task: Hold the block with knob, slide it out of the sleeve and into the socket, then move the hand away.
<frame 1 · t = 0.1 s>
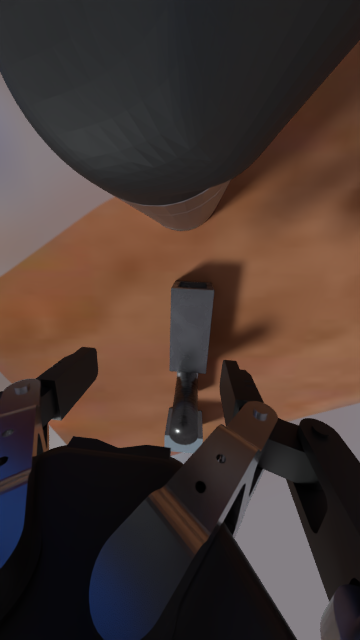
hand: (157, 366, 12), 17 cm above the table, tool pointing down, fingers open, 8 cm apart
sleeve: (190, 320, 29), on the table
socket: (184, 418, 37), on the table
block with knob: (187, 372, 24), point 7 cm above the table, slide at 0.0 cm
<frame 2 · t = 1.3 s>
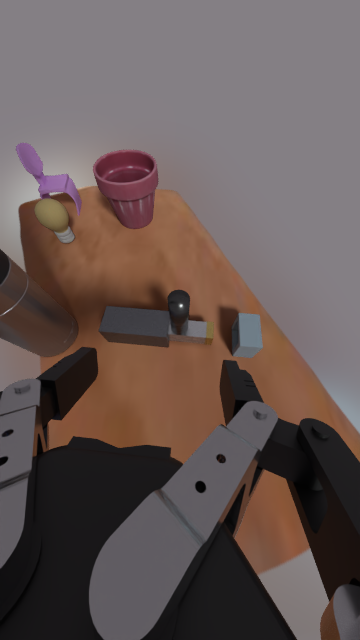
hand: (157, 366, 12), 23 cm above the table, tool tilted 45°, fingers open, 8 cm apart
sleeve: (140, 332, 38), on the table
light bulb: (68, 240, 51), on the table
socket: (243, 341, 37), on the table
plant pot: (137, 218, 54), on the table
block with knob: (159, 317, 32), point 7 cm above the table, slide at 0.0 cm
toy chair: (67, 210, 56), on the table
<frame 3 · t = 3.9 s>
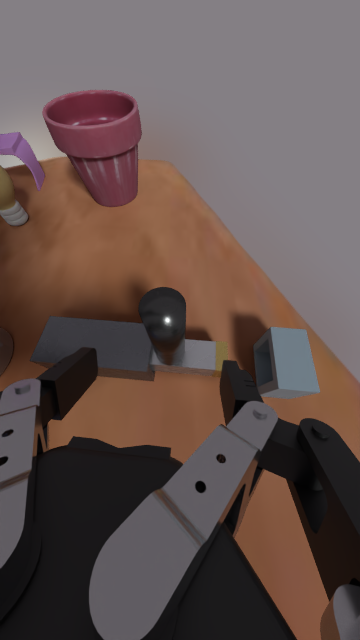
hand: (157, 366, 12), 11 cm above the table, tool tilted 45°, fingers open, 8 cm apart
sleeve: (110, 356, 24), on the table
light bulb: (20, 222, 37), on the table
socket: (274, 370, 23), on the table
plant pot: (116, 194, 40), on the table
block with knob: (132, 338, 18), point 7 cm above the table, slide at 0.0 cm
toy chair: (24, 185, 43), on the table
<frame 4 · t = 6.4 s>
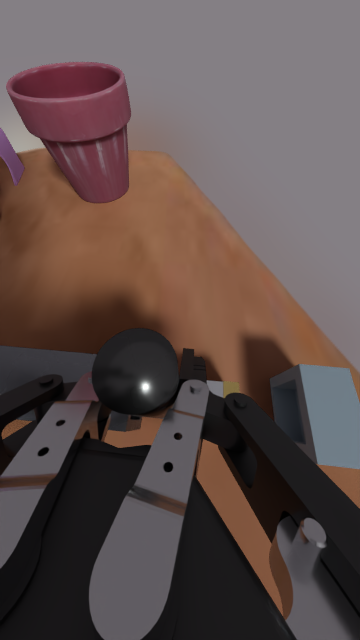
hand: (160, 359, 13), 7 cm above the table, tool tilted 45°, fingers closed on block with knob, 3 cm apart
sleeve: (86, 392, 19), on the table
socket: (298, 414, 18), on the table
plant pot: (104, 189, 35), on the table
block with knob: (104, 385, 12), point 7 cm above the table, slide at 0.0 cm, touching gripper
toy chair: (0, 179, 37), on the table
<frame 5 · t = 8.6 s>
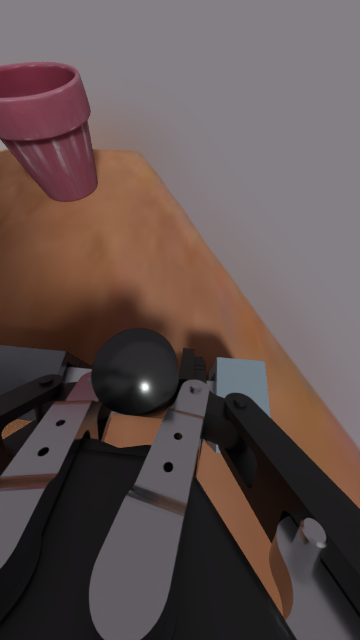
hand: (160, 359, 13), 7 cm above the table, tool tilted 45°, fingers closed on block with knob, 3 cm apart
sleeve: (27, 386, 19), on the table
socket: (232, 408, 18), on the table
plant pot: (73, 188, 35), on the table
block with knob: (104, 385, 12), point 7 cm above the table, slide at 6.0 cm, touching gripper
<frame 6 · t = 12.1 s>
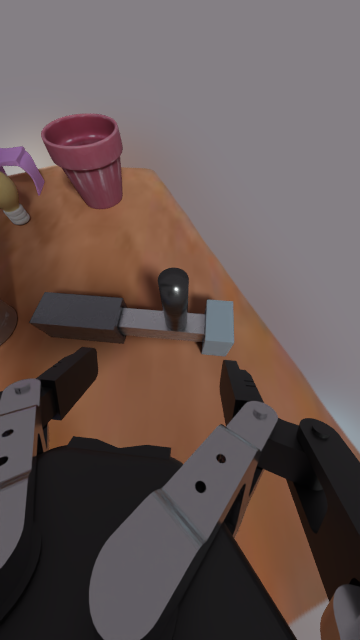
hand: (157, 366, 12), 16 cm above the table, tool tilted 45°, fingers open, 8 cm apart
sleeve: (92, 325, 31), on the table
light bulb: (23, 222, 44), on the table
socket: (217, 336, 30), on the table
plant pot: (104, 198, 48), on the table
block with knob: (149, 308, 24), point 7 cm above the table, slide at 6.0 cm
toy chair: (27, 190, 50), on the table
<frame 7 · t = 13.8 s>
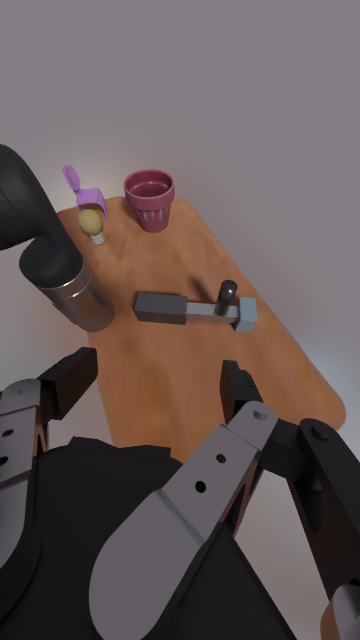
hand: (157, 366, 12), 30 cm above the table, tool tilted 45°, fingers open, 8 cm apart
sleeve: (163, 314, 49), on the table
light bulb: (99, 242, 62), on the table
socket: (243, 320, 48), on the table
plant pot: (154, 224, 65), on the table
block with knob: (208, 302, 42), point 7 cm above the table, slide at 6.0 cm
toy chair: (96, 217, 67), on the table
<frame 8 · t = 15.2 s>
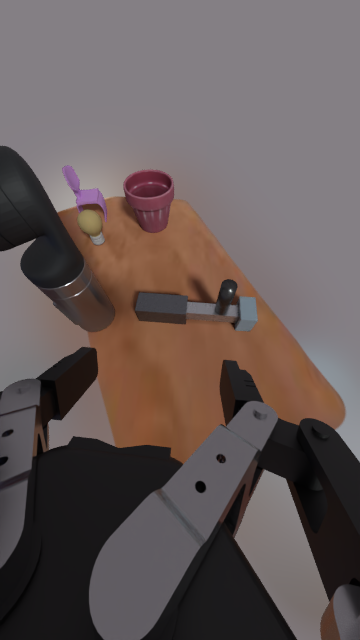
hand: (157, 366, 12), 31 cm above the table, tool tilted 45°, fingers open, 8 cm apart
sleeve: (163, 313, 49), on the table
light bulb: (99, 242, 62), on the table
socket: (243, 319, 48), on the table
plant pot: (154, 224, 65), on the table
block with knob: (208, 301, 42), point 7 cm above the table, slide at 6.0 cm
toy chair: (95, 217, 68), on the table
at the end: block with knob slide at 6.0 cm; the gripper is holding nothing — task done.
